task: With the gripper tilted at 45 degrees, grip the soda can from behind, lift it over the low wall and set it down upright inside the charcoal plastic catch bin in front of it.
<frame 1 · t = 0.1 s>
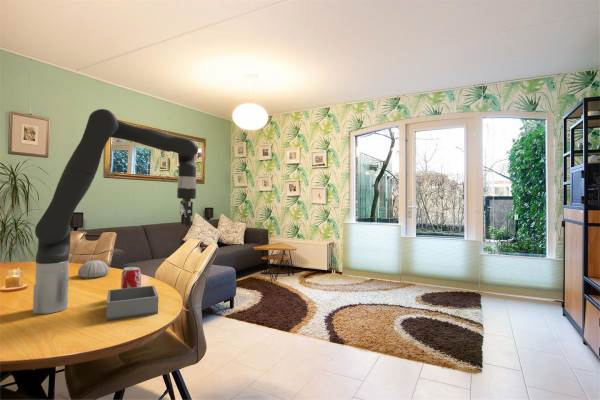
hand: (185, 225, 134), 29 cm above the table, tool pointing down, fingers open, 8 cm apart
sea urchin shell: (94, 276, 158), on the table
soda can: (130, 298, 127), on the table
catch bin: (132, 309, 114), on the table
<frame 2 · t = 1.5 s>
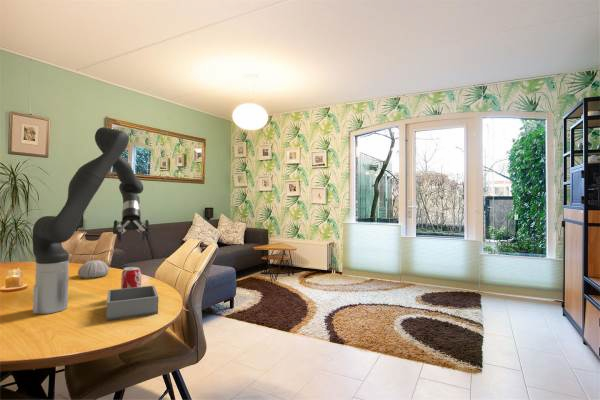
hand: (131, 240, 137), 22 cm above the table, tool tilted 45°, fingers open, 8 cm apart
nothing on the table moved.
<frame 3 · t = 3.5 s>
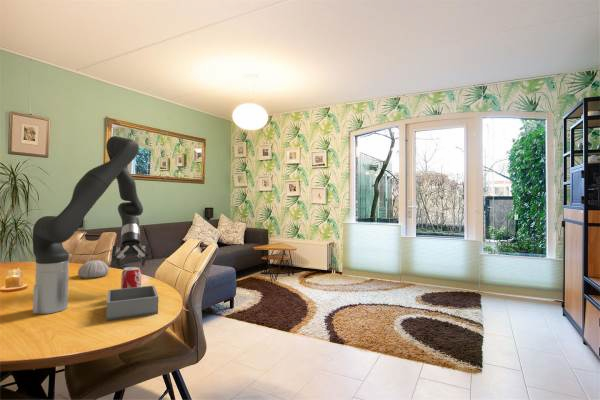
hand: (131, 266, 131), 11 cm above the table, tool tilted 45°, fingers open, 8 cm apart
nothing on the table moved.
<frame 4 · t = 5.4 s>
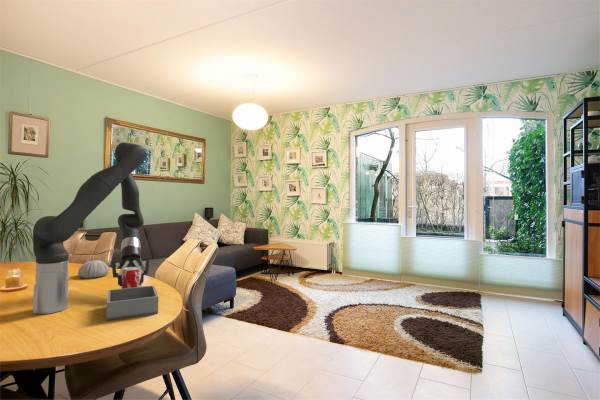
hand: (130, 284, 125), 6 cm above the table, tool tilted 45°, fingers closed on soda can, 6 cm apart
soda can: (130, 298, 127), on the table, touching gripper
everything else where it was.
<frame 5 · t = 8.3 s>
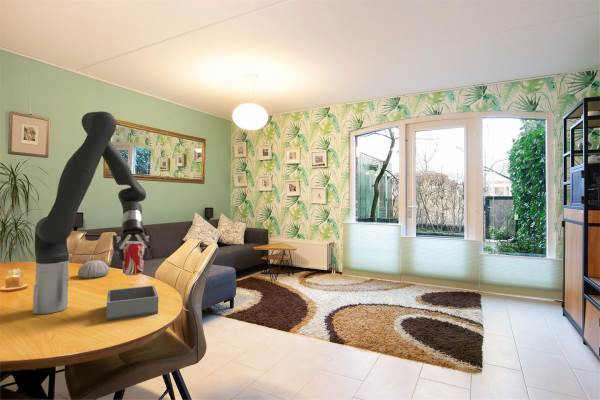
hand: (133, 259, 116), 18 cm above the table, tool tilted 45°, fingers closed on soda can, 6 cm apart
soda can: (132, 274, 117), point 12 cm above the table, touching gripper
everything else where it was.
when the fingers open (9 cm above the table, at t = 11.1 s): soda can drops 2 cm, resting on catch bin.
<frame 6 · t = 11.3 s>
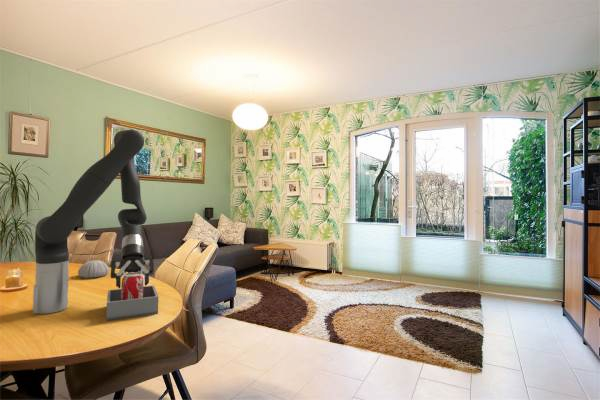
hand: (133, 285, 112), 9 cm above the table, tool tilted 45°, fingers open, 8 cm apart
soda can: (131, 307, 114), point 1 cm above the table, touching catch bin
everything else where it was.
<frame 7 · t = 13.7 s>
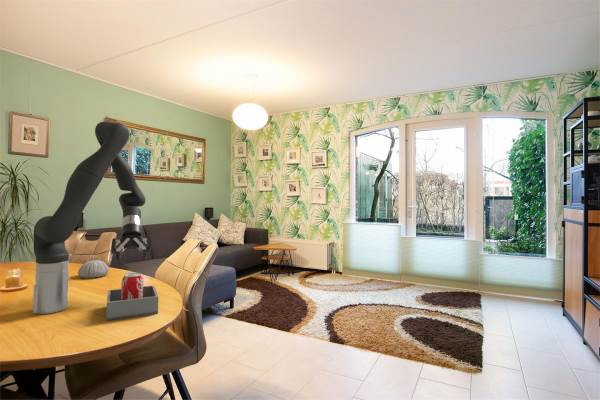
hand: (131, 260, 124), 16 cm above the table, tool tilted 45°, fingers open, 8 cm apart
nothing on the table moved.
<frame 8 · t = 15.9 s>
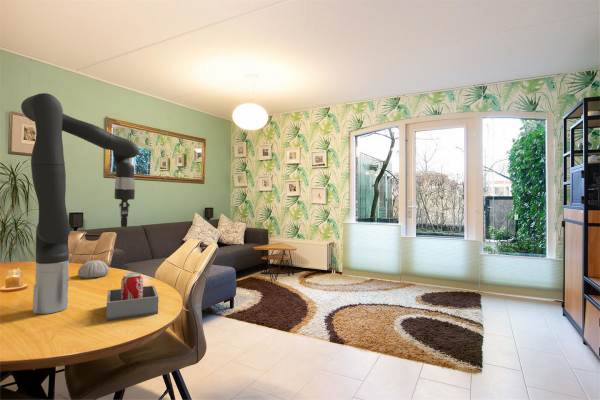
hand: (123, 226, 135), 28 cm above the table, tool pointing down, fingers open, 8 cm apart
nothing on the table moved.
at the end: soda can inside the target area on the catch bin (0.3 cm from its centre), point 0.6 cm above the catch bin's base; soda can tilted 0°; the gripper is holding nothing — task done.
